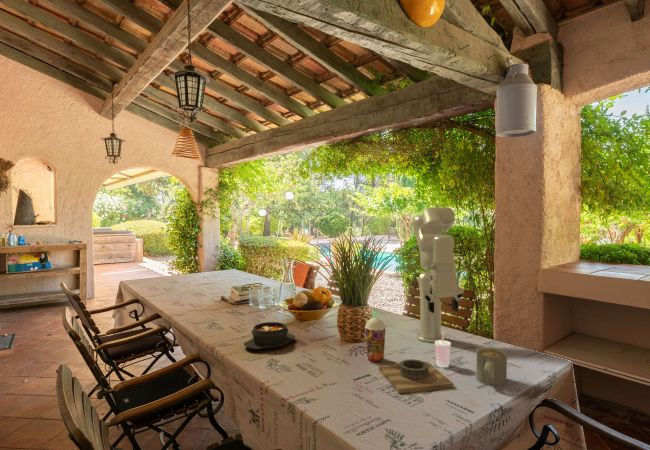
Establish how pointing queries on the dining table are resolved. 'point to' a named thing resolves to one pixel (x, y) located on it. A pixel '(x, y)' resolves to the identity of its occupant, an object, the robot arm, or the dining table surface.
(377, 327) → the smoothie
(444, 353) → the beverage cup
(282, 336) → the casserole
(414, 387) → the socket board
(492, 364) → the coffee mug
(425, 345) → the dining table surface
